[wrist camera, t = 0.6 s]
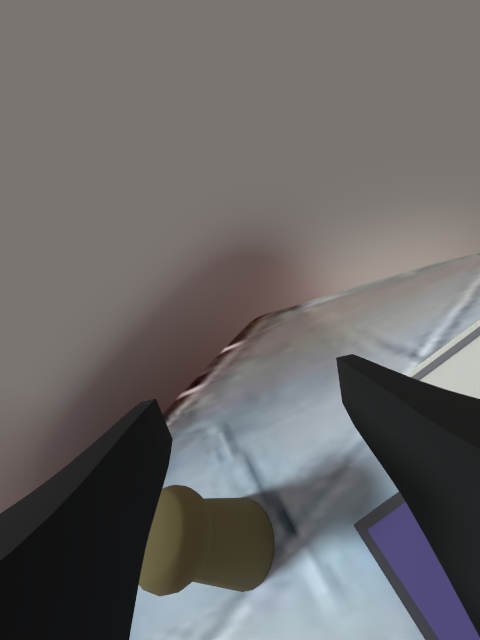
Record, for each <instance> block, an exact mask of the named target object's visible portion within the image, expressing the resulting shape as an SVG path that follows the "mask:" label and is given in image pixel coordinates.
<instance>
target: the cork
mask: <svg viewBox="0 0 480 640" xmlns="http://www.w3.org/2000/svg"><path fill="white" fill-rule="evenodd" d="M273 556H274V535H273V530H272V525H271V522H270V520H269V518H268V516H267V513H266V512H265V511H264V509H263V508H262V507H261V506H260V505H259V504H258V503H256V502H255V501H253V500H251V499H246V498H212V499H203V498H202V496H200V495H199V494H198V493H197V492H196V491H194V490H193V489H191V488H189V487H186V486H180V485H172V486H168V487H165V488H163V489H162V491H161V494H160V498H159V501H158V505H157V508H156V512H155V515H154V519H153V522H152V526H151V529H150V533H149V537H148V541H147V545H146V549H145V554H144V559H143V564H142V569H141V574H140V579H139V585H140V586H141V588H142V589H143V590H145V591H147V592H150V593H152V594H155V595H158V596H164V595H169V594H173V593H177V592H179V591H181V590H182V589H184V588H185V587H186V586H187V585H189V584H190V583H191V582H197V583H202V584H207V585H211V586H216V587H221V588H226V589H231V590H236V591H241V592H244V591H249V590H253V589H254V588H255V587H257V586H258V585H259V584H260V583H262V582H263V580H264V578H265V577H266V575H267V573H268V572H269V570H270V567H271V563H272V559H273Z"/></svg>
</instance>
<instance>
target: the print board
mask: <svg viewBox="0 0 480 640" xmlns="http://www.w3.org/2000/svg"><path fill="white" fill-rule="evenodd" d="M406 376H408V377H411V378H414V379H417V380H419V381H422V382H425V383H428V384H431V385H434V386H437V387H440V388H443V389H446V390H450V391H453V392H456V393H460V394H464V395H467V396H471V397H474V398H478V399H480V320H479V321H477V322H476V323H475V324H473V325H472V326H471V327H469V328H468V329H467V330H465V331H464V332H463V333H461V334H460V335H459V336H457V337H456V338H455V339H453V340H452V341H450V342H449V343H448V344H446V345H445V346H444V347H442V348H441V349H440V350H438V351H437V352H436V353H434V354H433V355H432V356H430V357H429V358H428V359H426V360H425V361H424V362H422V363H421V364H420V365H418V366H417V367H416V368H414V369H413V370H411V371H410V372H409V373H407V374H406Z"/></svg>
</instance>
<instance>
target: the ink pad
mask: <svg viewBox="0 0 480 640" xmlns="http://www.w3.org/2000/svg"><path fill="white" fill-rule="evenodd" d="M354 527H355V528H356V530H357V531H358V533H359V535H360V536H361V538H362V539H363V541H364V543H365V544H366V546H367V547H368V549H369V551H370V552H371V554H372V555H373V557H374V558H375V560H376V562H377V563H378V565H379V566H380V568H381V570H382V571H383V573H384V574H385V576H386V578H387V579H388V581H389V582H390V584H391V586H392V587H393V589H394V590H395V592H396V594H397V595H398V597H399V598H400V600H401V602H402V603H403V605H404V606H405V608H406V609H407V611H408V613H409V614H410V616H411V617H412V619H413V621H414V622H415V624H416V625H417V627H418V629H419V630H420V632H421V633H422V635H423V637H424V638H425V640H480V637H479V635H478V633H477V631H476V629H475V628H474V626H473V624H472V622H471V620H470V618H469V616H468V614H467V613H466V611H465V609H464V607H463V605H462V603H461V601H460V599H459V597H458V596H457V594H456V592H455V590H454V588H453V586H452V584H451V582H450V581H449V579H448V577H447V575H446V573H445V571H444V569H443V568H442V566H441V564H440V562H439V560H438V559H437V557H436V555H435V553H434V551H433V549H432V548H431V546H430V544H429V542H428V540H427V539H426V537H425V535H424V533H423V531H422V530H421V528H420V526H419V524H418V523H417V521H416V519H415V517H414V516H413V514H412V512H411V510H410V509H409V507H408V505H407V503H406V502H405V500H404V498H403V497H402V495H401V493H400V492H398V493H396V494H395V495H394V496H392V497H391V498H390V499H388V500H387V501H385V502H384V503H383V504H381V505H380V506H379V507H377V508H376V509H374V510H373V511H372V512H370V513H369V514H368V515H366V516H365V517H363V518H362V519H361V520H359V521H358V522H357V523H355V524H354Z"/></svg>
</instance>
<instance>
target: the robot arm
mask: <svg viewBox="0 0 480 640" xmlns="http://www.w3.org/2000/svg"><path fill="white" fill-rule="evenodd" d="M336 360H337V367H338V374H339V381H340V389H341V396H342V403H343V405H344V406H345V408H346V410H347V412H348V414H349V416H350V418H351V420H352V422H353V424H354V426H355V427H356V429H357V430H358V432H359V433H360V435H361V436H362V438H363V439H364V440H365V442H366V443H367V445H368V446H369V448H370V449H371V451H372V452H373V454H374V455H375V456H376V458H377V459H378V461H379V462H380V464H381V465H382V467H383V468H384V469H385V471H386V472H387V474H388V475H389V477H390V478H391V480H392V481H393V482H394V484H395V486H396V487H397V489H398V490H399V492H400V493H401V495H402V497H403V498H404V500H405V502H406V503H407V505H408V507H409V509H410V510H411V512H412V514H413V516H414V517H415V519H416V521H417V523H418V524H419V526H420V528H421V530H422V531H423V533H424V535H425V537H426V539H427V540H428V542H429V544H430V546H431V548H432V549H433V551H434V553H435V555H436V557H437V559H438V560H439V562H440V564H441V566H442V568H443V569H444V571H445V573H446V575H447V577H448V579H449V581H450V582H451V584H452V586H453V588H454V590H455V592H456V594H457V596H458V597H459V599H460V601H461V603H462V605H463V607H464V609H465V611H466V613H467V614H468V616H469V618H470V620H471V622H472V624H473V626H474V628H475V629H476V631H477V633H478V635H479V637H480V399H478V398H474V397H471V396H467V395H464V394H460V393H456V392H453V391H450V390H446V389H443V388H440V387H437V386H434V385H431V384H428V383H425V382H422V381H419V380H417V379H414V378H411V377H408V376H406V375H403V374H401V373H398V372H396V371H393V370H391V369H388V368H386V367H383V366H381V365H378V364H376V363H374V362H371V361H369V360H366V359H364V358H361V357H359V356H356V355H353V354H351V355H347V356H342V357H338V358H336ZM171 446H172V437H171V434H170V432H169V430H168V427H167V425H166V422H165V420H164V417H163V415H162V412H161V410H160V408H159V405H158V403H157V400H156V399H153V400H148V401H144V402H141V403H139V404H138V405H137V406H135V407H134V408H133V409H132V410H130V411H129V412H128V413H127V414H126V415H125V416H124V417H122V418H121V419H120V420H119V421H118V422H117V423H116V424H115V425H114V426H112V427H111V428H110V429H109V430H108V431H107V432H106V433H105V434H104V435H102V436H101V437H100V438H99V439H98V440H97V441H96V442H94V443H93V444H92V445H91V446H90V447H88V448H87V449H86V450H85V451H84V452H83V453H81V454H80V455H79V456H78V457H77V458H75V459H74V460H73V461H72V462H71V463H70V464H68V465H67V466H66V467H65V468H63V469H62V470H61V471H60V472H58V473H57V474H56V475H54V476H53V477H52V478H50V479H49V480H48V481H46V482H45V483H44V484H42V485H41V486H40V487H38V488H37V489H36V490H34V491H33V492H32V493H30V494H29V495H27V496H26V497H25V498H23V499H22V500H20V501H19V502H17V503H16V504H14V505H13V506H11V507H10V508H8V509H7V510H5V511H4V512H2V513H1V514H0V640H129V637H130V630H131V624H132V619H133V613H134V607H135V601H136V596H137V590H138V584H139V579H140V574H141V569H142V564H143V559H144V554H145V549H146V545H147V541H148V537H149V533H150V529H151V526H152V522H153V519H154V515H155V512H156V508H157V505H158V501H159V498H160V494H161V491H162V487H163V484H164V480H165V477H166V473H167V469H168V466H169V460H170V454H171Z"/></svg>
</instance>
